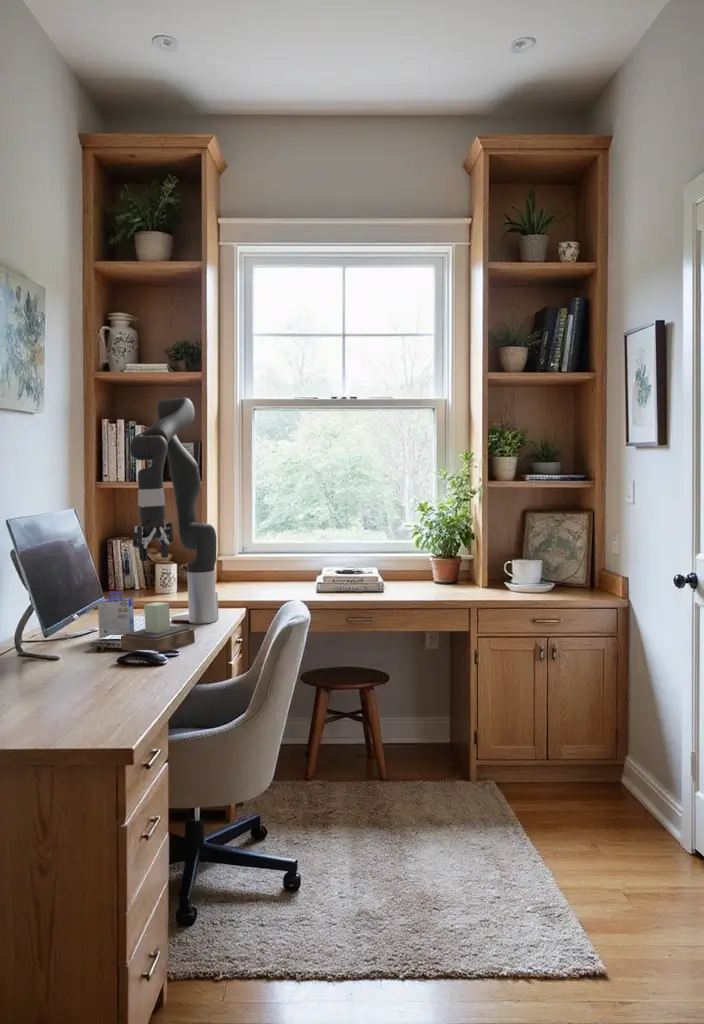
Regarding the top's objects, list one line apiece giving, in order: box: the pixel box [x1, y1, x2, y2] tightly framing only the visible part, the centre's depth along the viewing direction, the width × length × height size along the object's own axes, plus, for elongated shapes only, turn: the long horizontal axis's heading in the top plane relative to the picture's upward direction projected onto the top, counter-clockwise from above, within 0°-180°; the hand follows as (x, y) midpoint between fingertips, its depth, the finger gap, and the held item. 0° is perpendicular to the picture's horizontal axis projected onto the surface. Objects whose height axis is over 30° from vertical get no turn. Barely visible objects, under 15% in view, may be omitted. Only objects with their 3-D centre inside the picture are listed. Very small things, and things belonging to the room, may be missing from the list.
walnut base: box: [120, 625, 196, 653], centre depth 243 cm, size 16×14×4 cm
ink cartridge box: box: [97, 590, 135, 638], centre depth 255 cm, size 10×6×14 cm, turn 92°
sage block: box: [143, 601, 171, 633], centre depth 243 cm, size 5×5×8 cm
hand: (154, 559), depth 242 cm, fingers open, 8 cm apart
